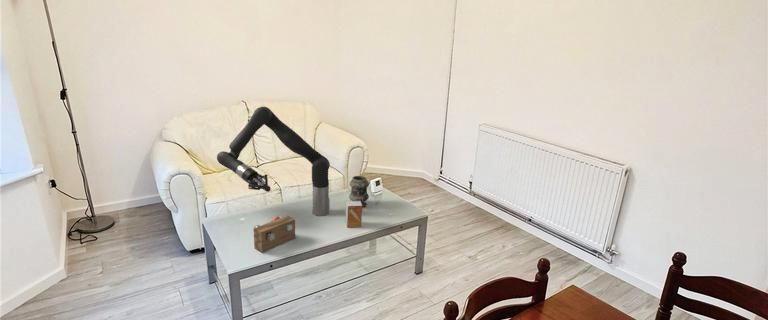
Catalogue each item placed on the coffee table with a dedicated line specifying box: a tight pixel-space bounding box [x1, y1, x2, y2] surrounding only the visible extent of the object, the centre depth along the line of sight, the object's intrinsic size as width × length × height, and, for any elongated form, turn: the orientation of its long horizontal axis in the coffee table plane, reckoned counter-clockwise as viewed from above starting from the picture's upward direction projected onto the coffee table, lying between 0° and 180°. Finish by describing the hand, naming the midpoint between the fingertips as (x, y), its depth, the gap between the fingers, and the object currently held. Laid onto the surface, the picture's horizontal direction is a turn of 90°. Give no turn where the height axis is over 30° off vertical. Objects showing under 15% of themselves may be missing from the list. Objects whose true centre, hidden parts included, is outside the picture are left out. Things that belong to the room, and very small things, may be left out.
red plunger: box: [271, 215, 292, 231], centre depth 211 cm, size 12×4×4 cm, turn 51°
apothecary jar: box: [348, 175, 370, 209], centre depth 256 cm, size 12×12×18 cm
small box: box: [345, 200, 363, 228], centre depth 230 cm, size 8×6×13 cm
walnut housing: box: [253, 215, 296, 254], centre depth 207 cm, size 6×20×11 cm, turn 141°
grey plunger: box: [253, 224, 275, 241], centre depth 201 cm, size 12×4×4 cm, turn 51°
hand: (269, 190), depth 219 cm, fingers closed
